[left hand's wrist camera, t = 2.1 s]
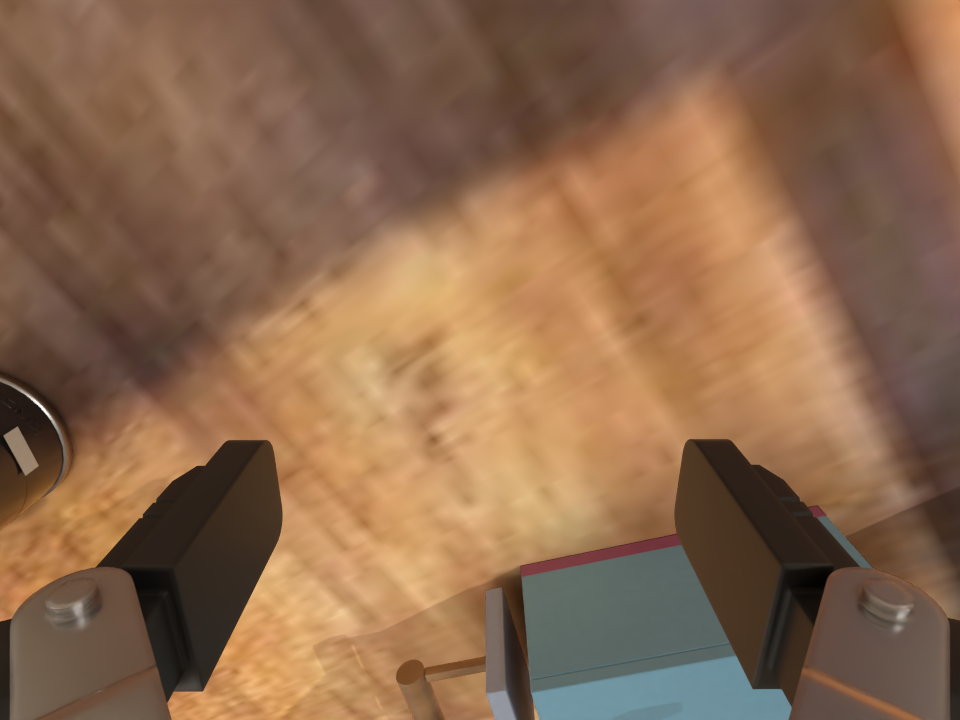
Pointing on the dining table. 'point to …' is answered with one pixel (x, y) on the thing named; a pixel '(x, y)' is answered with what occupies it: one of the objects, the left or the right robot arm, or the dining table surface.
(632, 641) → the cabinet
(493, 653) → the drawer
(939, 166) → the dining table surface
